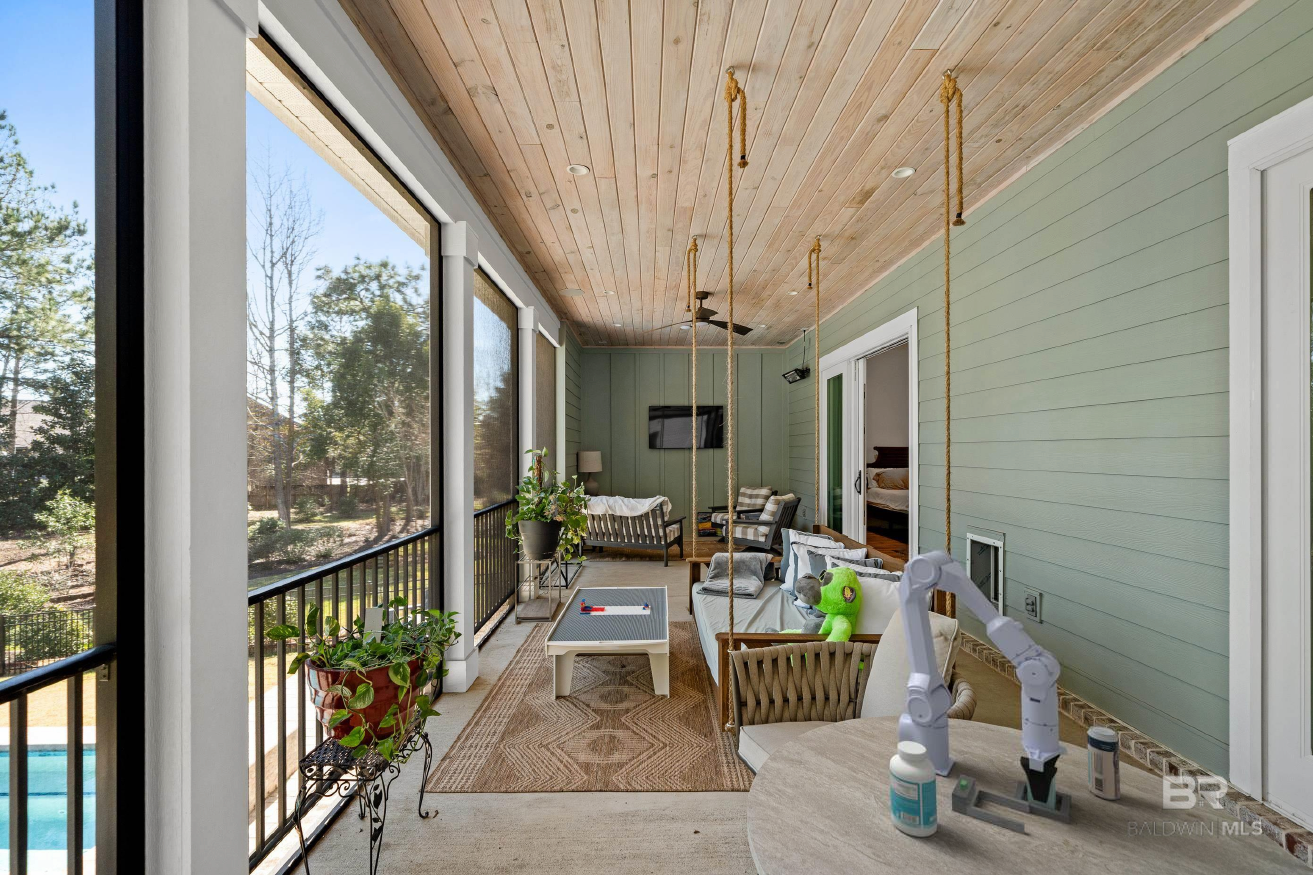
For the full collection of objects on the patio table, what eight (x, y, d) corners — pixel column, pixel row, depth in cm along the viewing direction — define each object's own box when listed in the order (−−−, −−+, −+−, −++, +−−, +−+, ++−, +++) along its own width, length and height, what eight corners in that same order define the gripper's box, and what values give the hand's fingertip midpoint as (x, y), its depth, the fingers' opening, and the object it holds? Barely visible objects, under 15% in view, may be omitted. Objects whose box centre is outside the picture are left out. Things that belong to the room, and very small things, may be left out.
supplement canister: (1125, 802, 110) (1124, 737, 110) (1096, 800, 110) (1095, 734, 111) (1111, 788, 114) (1109, 725, 115) (1083, 785, 115) (1082, 723, 116)
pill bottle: (925, 812, 107) (924, 736, 107) (945, 839, 100) (943, 757, 100) (884, 812, 107) (882, 736, 107) (900, 839, 100) (899, 757, 100)
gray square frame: (1012, 806, 109) (1012, 799, 109) (1018, 786, 115) (1018, 780, 115) (1067, 823, 103) (1067, 816, 103) (1071, 801, 110) (1071, 795, 110)
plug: (1027, 805, 109) (1027, 768, 109) (1030, 795, 112) (1029, 759, 112) (1054, 813, 106) (1053, 775, 107) (1055, 803, 110) (1054, 766, 110)
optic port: (952, 809, 108) (951, 789, 108) (961, 789, 114) (961, 770, 114) (1024, 833, 101) (1023, 812, 101) (1029, 811, 107) (1029, 791, 107)
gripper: (1062, 740, 102) (1065, 820, 101) (1068, 711, 113) (1070, 783, 113) (1015, 728, 106) (1017, 805, 106) (1025, 702, 117) (1027, 771, 117)
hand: (1041, 793), depth 109 cm, fingers open, 5 cm apart
